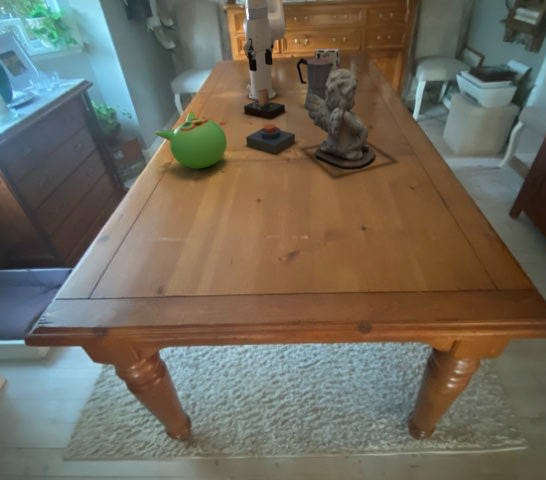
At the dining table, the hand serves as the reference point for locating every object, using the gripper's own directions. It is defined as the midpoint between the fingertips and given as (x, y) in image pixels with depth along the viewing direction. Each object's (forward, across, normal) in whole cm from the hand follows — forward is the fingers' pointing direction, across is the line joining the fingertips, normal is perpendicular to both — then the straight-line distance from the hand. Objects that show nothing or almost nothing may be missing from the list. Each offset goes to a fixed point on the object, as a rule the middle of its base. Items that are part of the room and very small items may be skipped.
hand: (261, 67), depth 135 cm
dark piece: (+16, +25, +22) cm, 37 cm away
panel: (+17, +1, 0) cm, 17 cm away
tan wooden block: (+14, +1, 0) cm, 14 cm away
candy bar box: (+18, -41, +6) cm, 45 cm away
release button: (+12, +25, +22) cm, 35 cm away
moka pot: (+17, -16, +14) cm, 28 cm away
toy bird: (+16, +49, +12) cm, 53 cm away
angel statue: (+16, +19, +50) cm, 55 cm away
